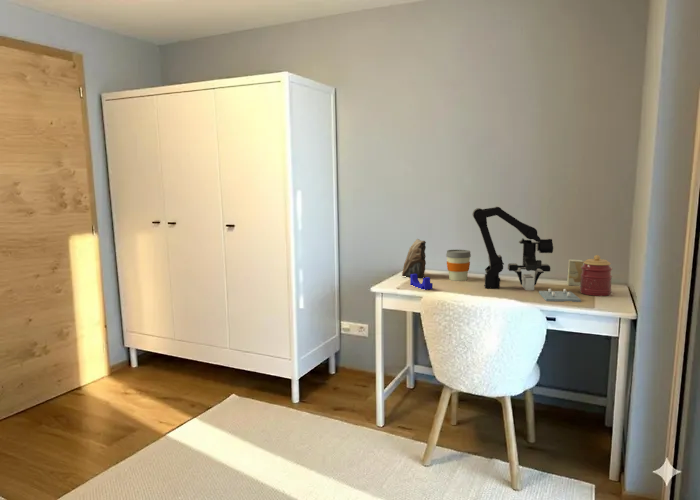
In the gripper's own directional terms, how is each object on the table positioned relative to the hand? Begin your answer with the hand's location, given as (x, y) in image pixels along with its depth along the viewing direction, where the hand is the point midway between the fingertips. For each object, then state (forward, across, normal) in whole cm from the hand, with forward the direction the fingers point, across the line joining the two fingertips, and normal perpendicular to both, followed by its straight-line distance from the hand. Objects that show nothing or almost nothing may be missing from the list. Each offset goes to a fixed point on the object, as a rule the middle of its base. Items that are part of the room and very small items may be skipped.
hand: (528, 285), depth 245 cm
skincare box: (+2, +24, +11) cm, 26 cm away
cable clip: (+2, -51, -4) cm, 51 cm away
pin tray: (+2, +10, -18) cm, 21 cm away
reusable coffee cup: (+2, -32, +19) cm, 37 cm away
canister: (+2, +28, -8) cm, 29 cm away
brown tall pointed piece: (+2, -56, +24) cm, 61 cm away
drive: (+2, 0, 0) cm, 2 cm away
